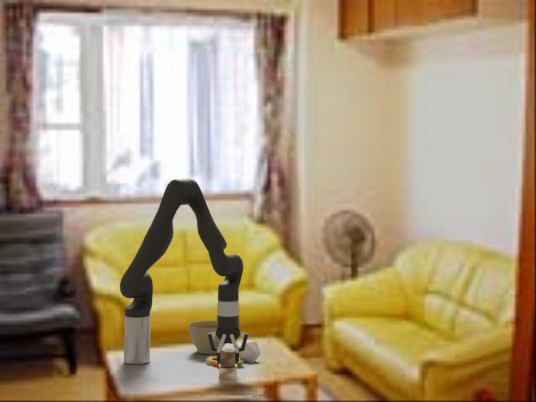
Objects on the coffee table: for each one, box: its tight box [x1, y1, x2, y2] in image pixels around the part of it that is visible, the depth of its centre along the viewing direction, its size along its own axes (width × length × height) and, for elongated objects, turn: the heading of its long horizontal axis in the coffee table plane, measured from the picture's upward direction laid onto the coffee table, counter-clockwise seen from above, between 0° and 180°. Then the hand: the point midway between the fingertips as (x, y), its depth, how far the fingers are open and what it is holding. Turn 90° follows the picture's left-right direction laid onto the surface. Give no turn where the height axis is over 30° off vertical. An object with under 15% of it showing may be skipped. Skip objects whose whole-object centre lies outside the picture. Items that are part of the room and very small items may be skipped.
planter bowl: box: [188, 320, 226, 355], centre depth 331 cm, size 16×16×11 cm
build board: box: [209, 373, 247, 384], centre depth 289 cm, size 12×12×1 cm
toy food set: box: [205, 356, 245, 370], centre depth 308 cm, size 13×13×3 cm
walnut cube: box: [220, 348, 235, 367], centre depth 289 cm, size 5×5×5 cm
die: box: [238, 339, 262, 364], centre depth 316 cm, size 8×9×10 cm
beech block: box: [218, 364, 238, 380], centre depth 289 cm, size 6×6×4 cm
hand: (227, 363), depth 289 cm, fingers closed on walnut cube, 5 cm apart
